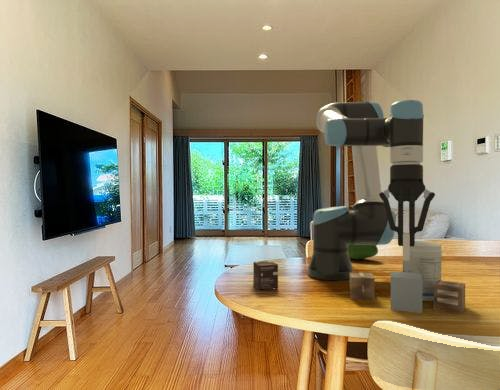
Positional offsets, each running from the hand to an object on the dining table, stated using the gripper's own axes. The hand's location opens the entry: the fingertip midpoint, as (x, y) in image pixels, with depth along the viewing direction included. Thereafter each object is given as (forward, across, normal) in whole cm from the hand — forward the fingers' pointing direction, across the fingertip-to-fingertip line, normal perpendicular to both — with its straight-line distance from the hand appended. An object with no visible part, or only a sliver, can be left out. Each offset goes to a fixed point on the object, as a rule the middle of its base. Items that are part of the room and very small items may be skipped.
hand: (406, 259), depth 91 cm
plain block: (+12, 0, 0) cm, 12 cm away
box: (+12, -39, +5) cm, 41 cm away
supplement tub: (+12, +4, +11) cm, 17 cm away
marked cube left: (+12, -11, +4) cm, 17 cm away
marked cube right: (+12, +10, +3) cm, 16 cm away
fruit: (+12, -16, +60) cm, 64 cm away
